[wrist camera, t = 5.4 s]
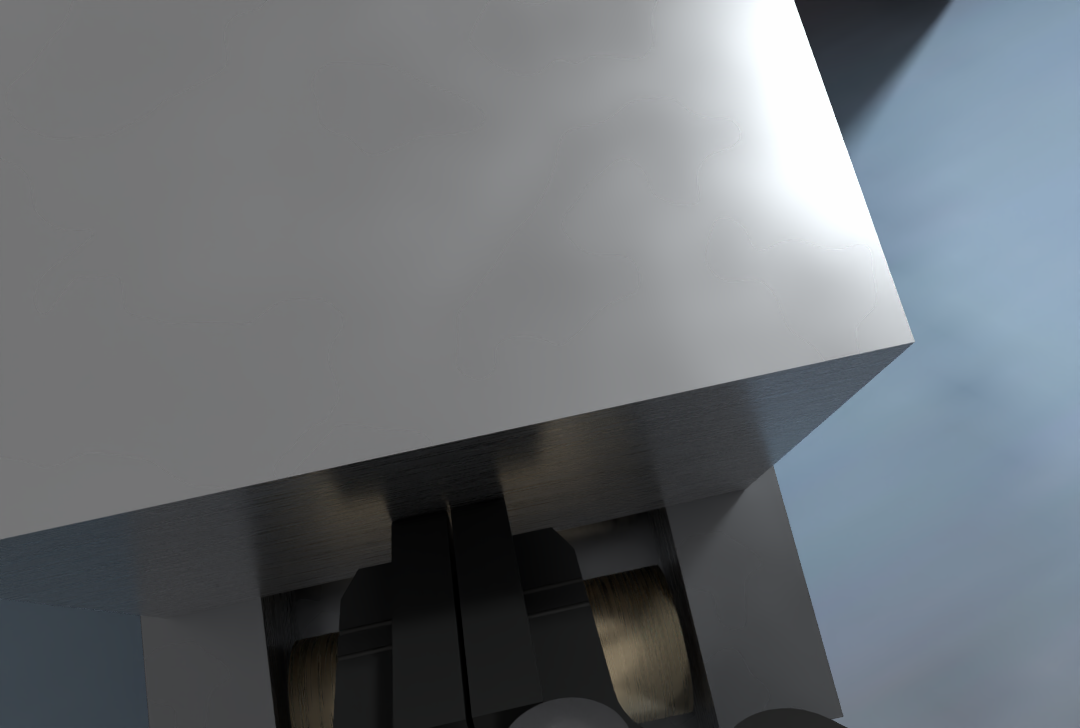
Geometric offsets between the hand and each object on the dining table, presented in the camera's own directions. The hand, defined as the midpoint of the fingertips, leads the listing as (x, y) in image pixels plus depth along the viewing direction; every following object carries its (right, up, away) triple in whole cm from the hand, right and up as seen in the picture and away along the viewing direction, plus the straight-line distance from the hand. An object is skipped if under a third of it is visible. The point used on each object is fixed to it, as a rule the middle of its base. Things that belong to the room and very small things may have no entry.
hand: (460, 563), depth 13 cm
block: (-1, +5, +5) cm, 7 cm away
